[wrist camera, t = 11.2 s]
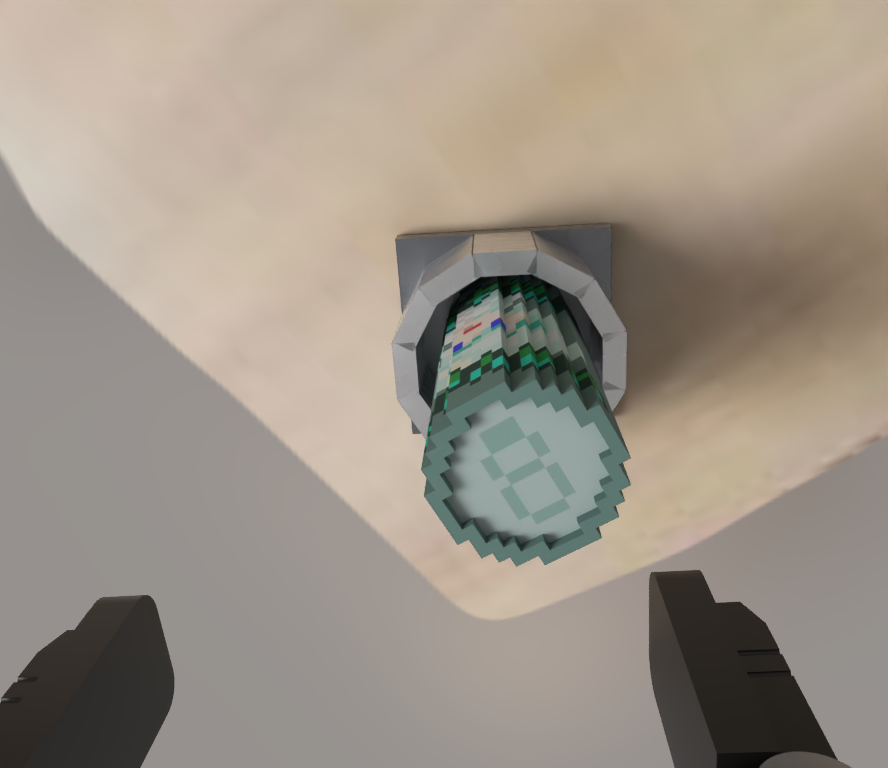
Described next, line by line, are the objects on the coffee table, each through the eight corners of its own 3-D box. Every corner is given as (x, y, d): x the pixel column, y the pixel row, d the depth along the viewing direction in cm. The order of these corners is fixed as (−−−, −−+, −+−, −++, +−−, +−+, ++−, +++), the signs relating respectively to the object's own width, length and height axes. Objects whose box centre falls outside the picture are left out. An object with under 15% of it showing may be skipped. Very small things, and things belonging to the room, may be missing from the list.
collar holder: (607, 222, 37) (628, 244, 32) (606, 417, 40) (624, 465, 35) (397, 235, 37) (383, 258, 32) (414, 426, 41) (404, 474, 36)
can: (534, 248, 36) (566, 347, 22) (595, 354, 38) (660, 509, 24) (424, 312, 38) (388, 444, 24) (487, 412, 39) (489, 591, 25)
